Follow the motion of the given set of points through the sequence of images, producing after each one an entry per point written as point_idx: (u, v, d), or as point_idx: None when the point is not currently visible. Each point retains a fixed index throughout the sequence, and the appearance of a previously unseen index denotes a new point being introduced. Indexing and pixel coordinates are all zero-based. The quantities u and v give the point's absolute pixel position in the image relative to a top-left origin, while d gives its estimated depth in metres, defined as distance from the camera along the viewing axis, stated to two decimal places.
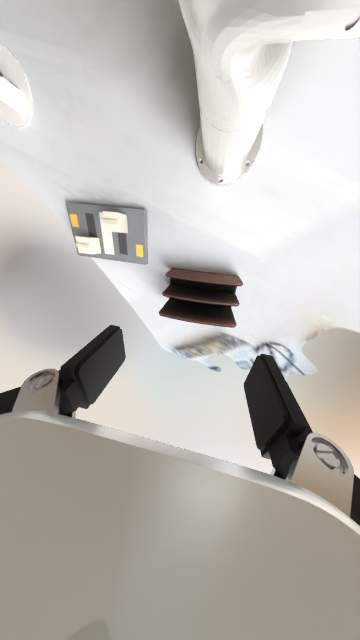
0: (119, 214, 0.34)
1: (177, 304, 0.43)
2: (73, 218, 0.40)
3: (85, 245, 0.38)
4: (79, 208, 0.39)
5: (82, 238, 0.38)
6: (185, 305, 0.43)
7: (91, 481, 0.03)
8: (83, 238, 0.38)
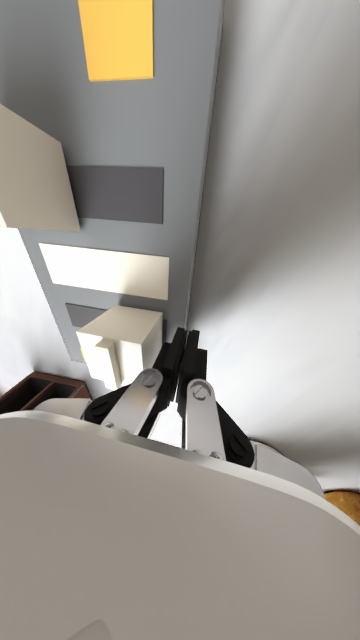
0: None
1: None
2: (130, 22, 0.06)
3: None
4: (183, 123, 0.07)
5: None
6: None
7: (91, 481, 0.03)
8: None
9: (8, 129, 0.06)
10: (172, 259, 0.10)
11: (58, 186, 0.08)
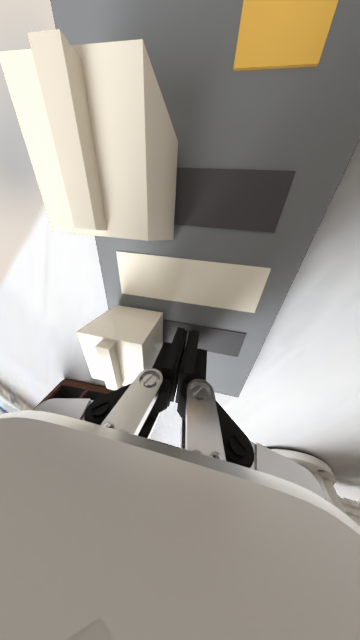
0: None
1: None
2: None
3: (83, 201, 0.05)
4: (338, 119, 0.06)
5: (135, 168, 0.04)
6: None
7: (91, 481, 0.03)
8: (136, 181, 0.04)
9: (161, 126, 0.05)
10: (274, 270, 0.09)
11: (171, 191, 0.07)
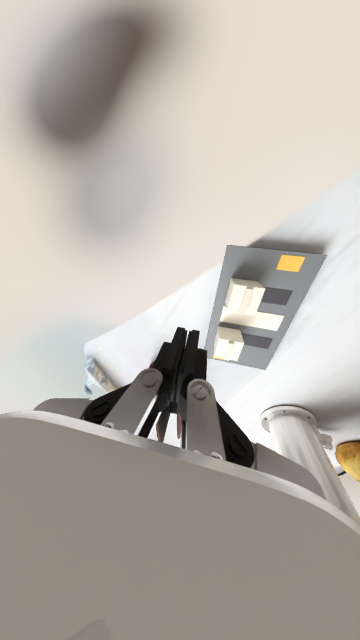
0: None
1: None
2: (295, 261, 0.20)
3: (244, 309, 0.20)
4: (304, 281, 0.21)
5: (257, 303, 0.20)
6: None
7: (91, 481, 0.03)
8: (256, 305, 0.20)
9: None
10: (285, 316, 0.24)
11: None
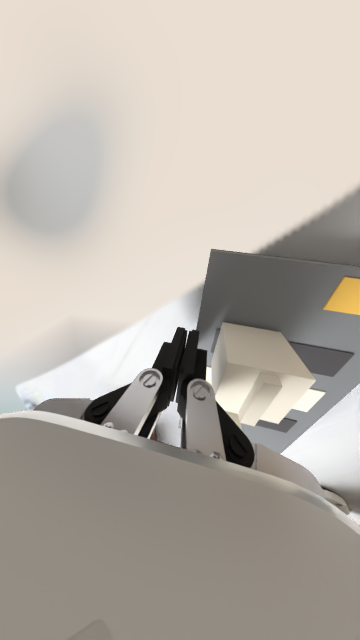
0: None
1: None
2: None
3: (253, 418, 0.08)
4: None
5: (286, 404, 0.08)
6: None
7: (91, 481, 0.03)
8: (284, 408, 0.08)
9: None
10: (327, 393, 0.12)
11: None
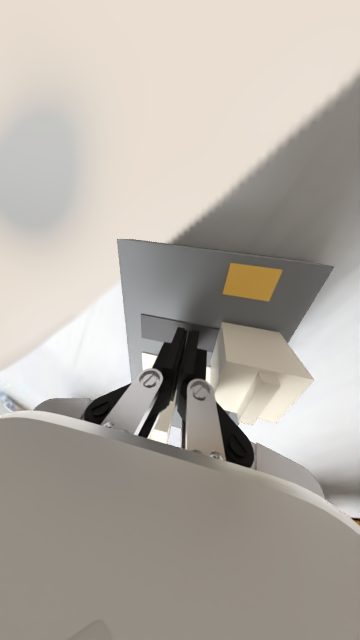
0: None
1: None
2: (261, 278, 0.09)
3: (252, 417, 0.08)
4: (282, 321, 0.10)
5: (285, 404, 0.08)
6: None
7: (91, 481, 0.03)
8: (283, 407, 0.08)
9: None
10: None
11: None
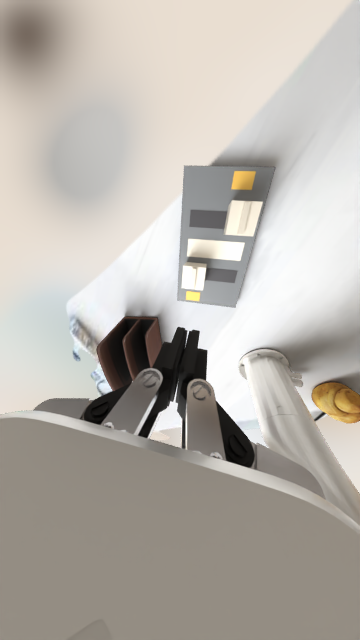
0: None
1: (120, 337, 0.38)
2: (247, 177, 0.21)
3: (242, 228, 0.20)
4: (258, 200, 0.22)
5: (255, 220, 0.20)
6: (123, 344, 0.39)
7: (91, 481, 0.03)
8: (254, 223, 0.20)
9: None
10: (245, 243, 0.25)
11: None
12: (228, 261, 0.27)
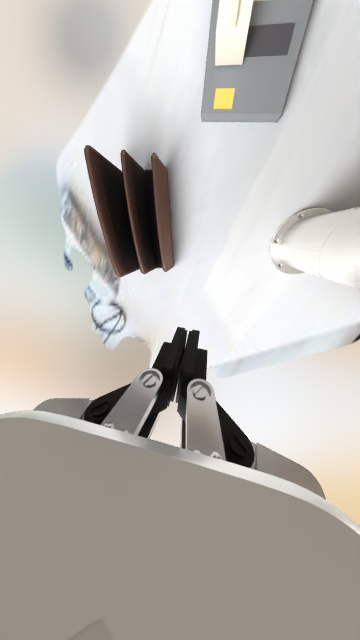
0: (244, 35, 0.19)
1: (118, 189, 0.29)
2: None
3: None
4: None
5: None
6: (122, 204, 0.31)
7: (91, 481, 0.03)
8: None
9: None
10: None
11: None
12: (284, 2, 0.19)
